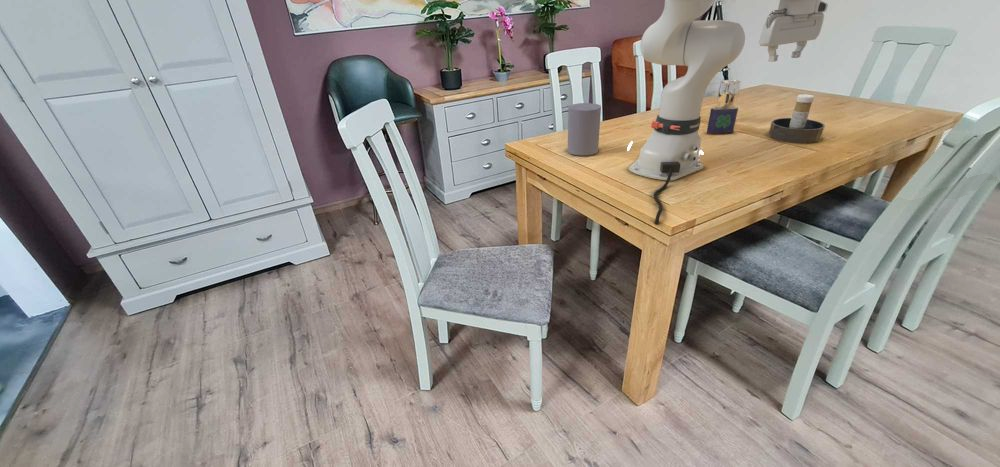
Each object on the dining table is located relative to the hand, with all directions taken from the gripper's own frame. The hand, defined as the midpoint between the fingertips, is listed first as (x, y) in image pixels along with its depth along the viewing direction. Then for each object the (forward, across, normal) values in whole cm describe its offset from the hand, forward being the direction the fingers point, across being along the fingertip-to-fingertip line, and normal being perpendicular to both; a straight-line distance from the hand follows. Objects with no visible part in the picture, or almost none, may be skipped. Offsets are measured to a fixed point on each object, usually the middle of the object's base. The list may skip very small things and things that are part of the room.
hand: (784, 59), depth 124 cm
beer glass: (+26, +11, +27) cm, 39 cm away
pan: (+26, +15, +1) cm, 30 cm away
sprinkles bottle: (+26, +15, +1) cm, 30 cm away
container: (+25, -54, +24) cm, 65 cm away
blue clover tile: (+26, -2, +16) cm, 31 cm away
